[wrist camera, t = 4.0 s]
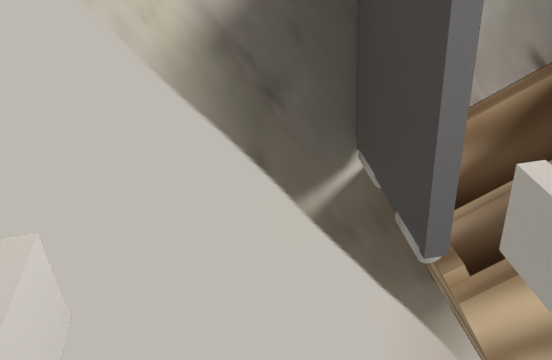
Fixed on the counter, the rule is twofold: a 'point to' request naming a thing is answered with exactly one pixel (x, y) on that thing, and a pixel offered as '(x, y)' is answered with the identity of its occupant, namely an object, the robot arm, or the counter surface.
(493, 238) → the box
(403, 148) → the door
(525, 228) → the robot arm
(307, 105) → the counter surface
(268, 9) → the counter surface
